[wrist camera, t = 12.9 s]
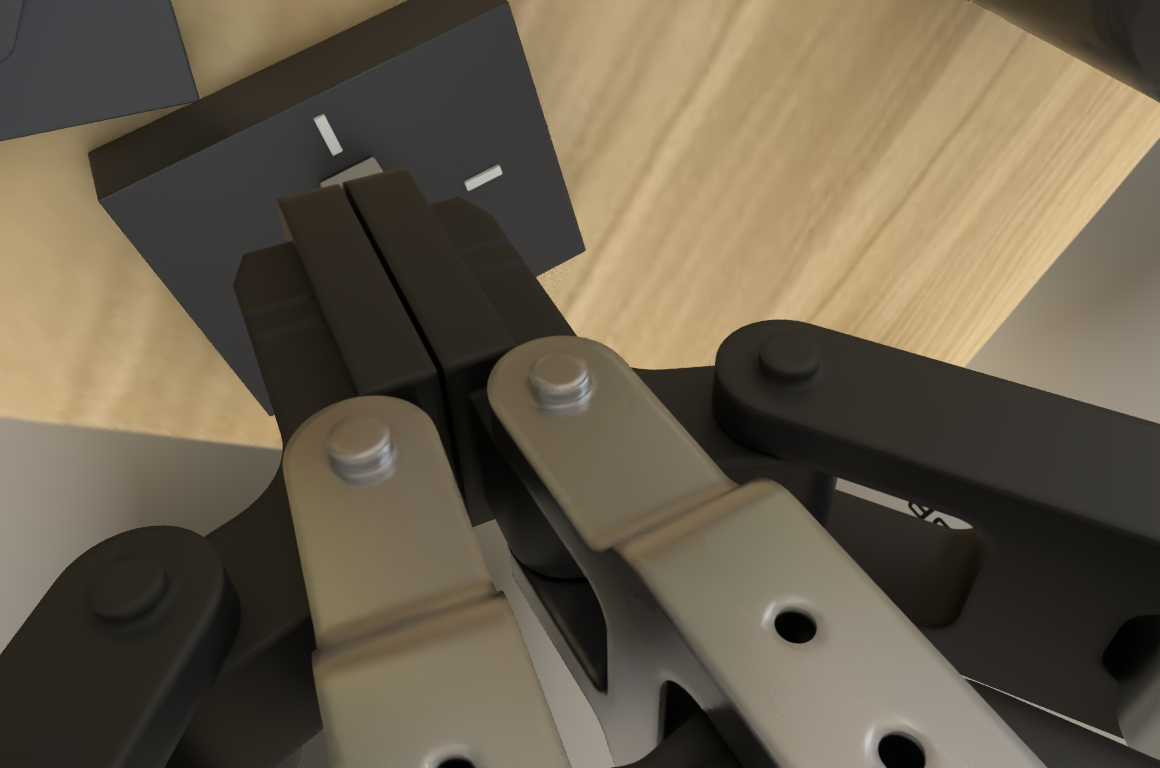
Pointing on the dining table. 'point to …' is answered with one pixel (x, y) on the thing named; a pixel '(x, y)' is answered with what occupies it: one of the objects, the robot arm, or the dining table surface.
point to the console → (340, 153)
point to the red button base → (88, 62)
